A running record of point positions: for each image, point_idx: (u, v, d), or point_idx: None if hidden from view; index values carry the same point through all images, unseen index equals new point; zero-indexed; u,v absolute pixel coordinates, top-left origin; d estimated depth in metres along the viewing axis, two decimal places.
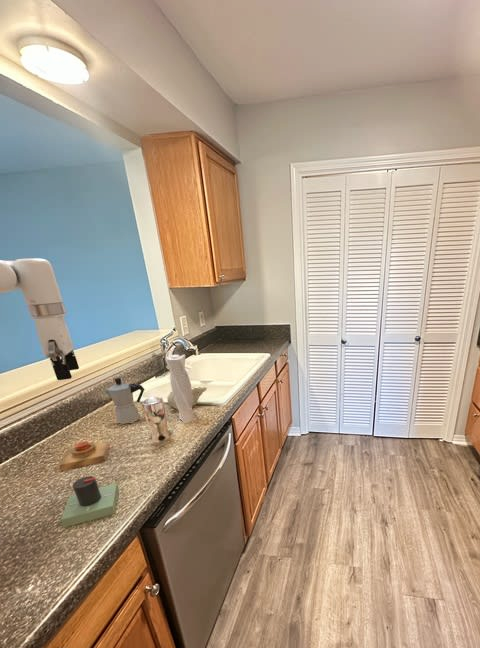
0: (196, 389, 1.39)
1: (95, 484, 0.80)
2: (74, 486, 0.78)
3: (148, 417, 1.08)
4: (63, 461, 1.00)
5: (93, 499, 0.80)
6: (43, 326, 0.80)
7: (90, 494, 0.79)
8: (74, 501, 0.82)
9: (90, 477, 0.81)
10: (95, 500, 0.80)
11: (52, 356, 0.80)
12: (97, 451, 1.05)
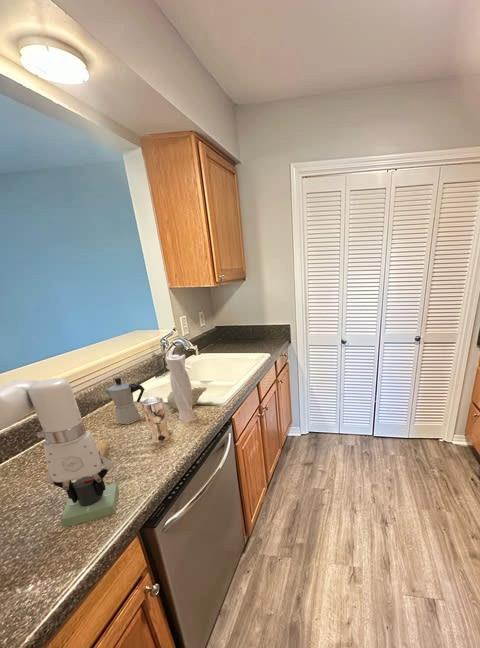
0: (196, 389, 1.39)
1: None
2: (74, 486, 0.78)
3: (148, 417, 1.08)
4: None
5: (93, 499, 0.80)
6: (93, 441, 0.77)
7: (90, 494, 0.79)
8: None
9: (90, 477, 0.81)
10: (95, 500, 0.80)
11: (110, 468, 0.81)
12: None
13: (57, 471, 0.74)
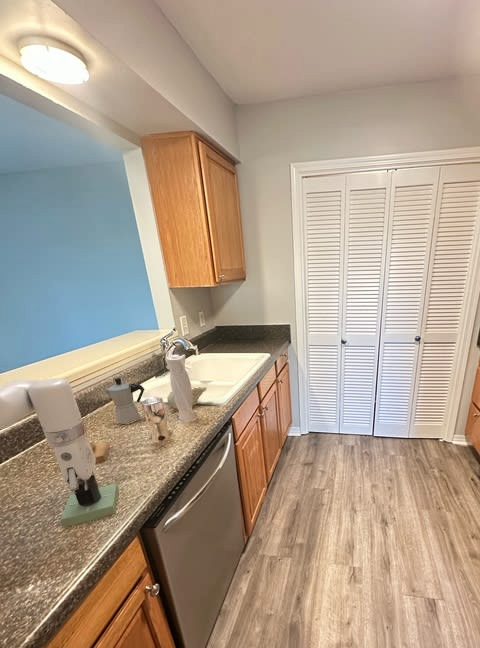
0: (196, 389, 1.39)
1: None
2: None
3: (148, 417, 1.08)
4: None
5: None
6: None
7: (97, 486, 0.82)
8: (74, 501, 0.82)
9: None
10: None
11: None
12: (97, 451, 1.05)
13: (87, 466, 0.75)
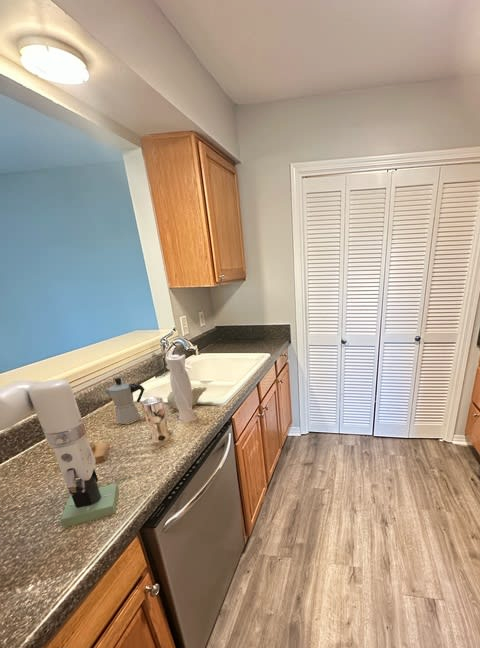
0: (196, 389, 1.39)
1: None
2: (87, 485, 0.78)
3: (148, 417, 1.08)
4: None
5: None
6: None
7: (97, 486, 0.82)
8: None
9: None
10: None
11: None
12: (97, 451, 1.05)
13: (87, 467, 0.76)
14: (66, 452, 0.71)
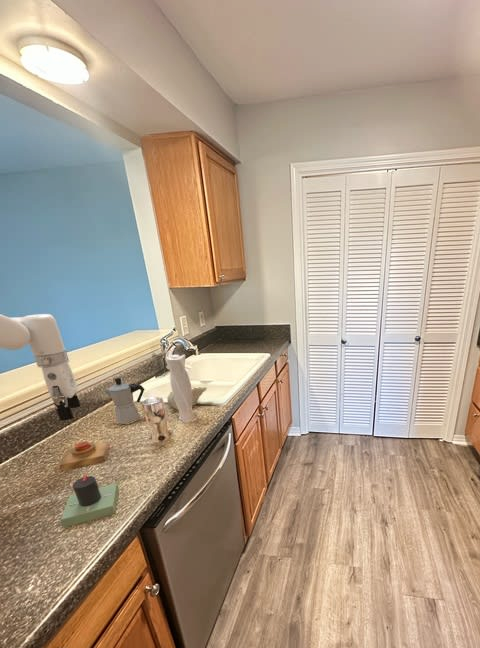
0: (196, 389, 1.39)
1: None
2: (87, 485, 0.78)
3: (148, 417, 1.08)
4: (63, 461, 1.00)
5: None
6: None
7: (97, 486, 0.82)
8: (74, 501, 0.82)
9: (78, 480, 0.80)
10: None
11: None
12: (97, 451, 1.05)
13: (69, 387, 0.93)
14: (51, 372, 0.89)
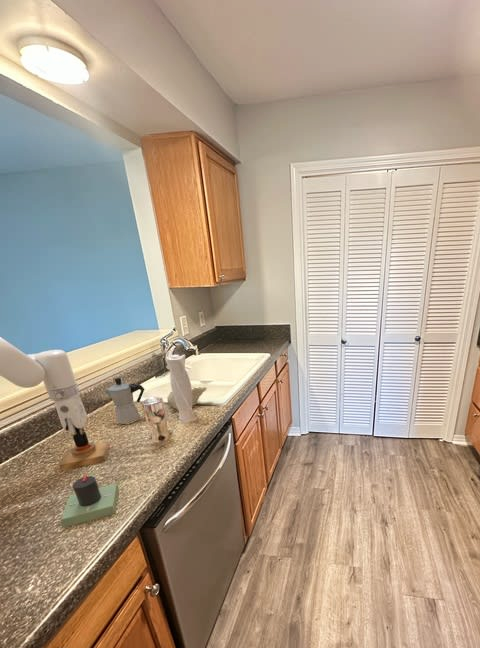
0: (196, 389, 1.39)
1: None
2: (87, 485, 0.78)
3: (148, 417, 1.08)
4: (63, 461, 1.00)
5: None
6: None
7: (97, 486, 0.82)
8: (74, 501, 0.82)
9: (78, 480, 0.80)
10: None
11: None
12: (97, 451, 1.05)
13: (80, 418, 0.98)
14: (64, 405, 0.94)
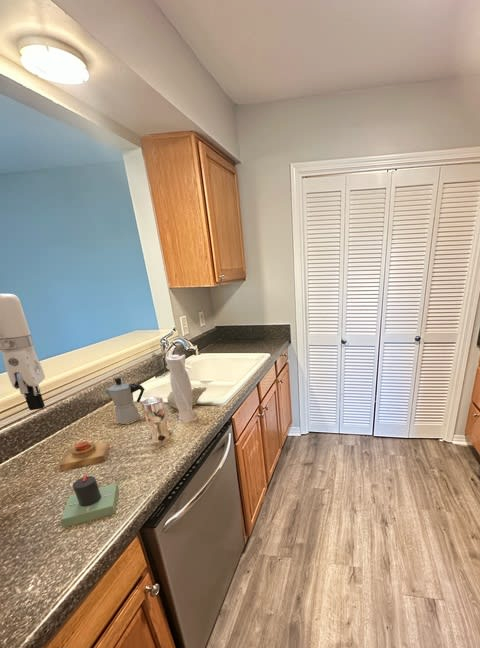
0: (196, 389, 1.39)
1: None
2: (87, 485, 0.78)
3: (148, 417, 1.08)
4: (63, 461, 1.00)
5: None
6: None
7: (97, 486, 0.82)
8: (74, 501, 0.82)
9: (78, 480, 0.80)
10: None
11: None
12: (97, 451, 1.05)
13: (33, 374, 0.85)
14: (13, 357, 0.81)
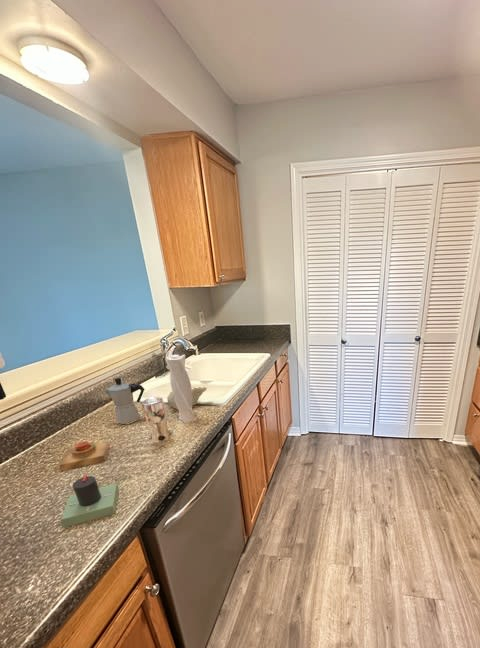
0: (196, 389, 1.39)
1: None
2: (87, 485, 0.78)
3: (148, 417, 1.08)
4: (63, 461, 1.00)
5: None
6: None
7: (97, 486, 0.82)
8: (74, 501, 0.82)
9: (78, 480, 0.80)
10: None
11: None
12: (97, 451, 1.05)
13: None
14: None
